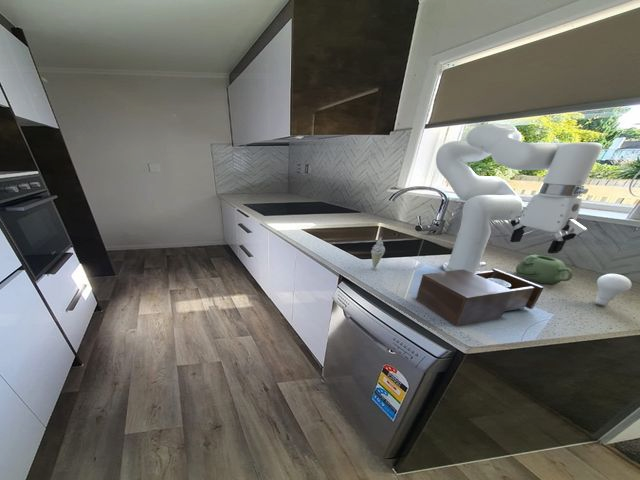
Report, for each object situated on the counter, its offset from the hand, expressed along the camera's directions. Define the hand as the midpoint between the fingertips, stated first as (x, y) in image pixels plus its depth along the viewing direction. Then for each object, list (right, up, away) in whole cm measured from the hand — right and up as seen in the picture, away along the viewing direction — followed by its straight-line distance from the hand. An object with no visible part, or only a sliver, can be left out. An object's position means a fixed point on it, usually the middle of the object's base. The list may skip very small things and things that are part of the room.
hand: (532, 246), depth 75 cm
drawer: (-6, -17, +6) cm, 19 cm away
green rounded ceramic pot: (+26, -12, +20) cm, 35 cm away
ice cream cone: (-35, -9, +30) cm, 47 cm away
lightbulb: (+26, -19, +4) cm, 33 cm away
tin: (-7, -16, +5) cm, 19 cm away
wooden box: (-21, -20, +3) cm, 29 cm away
